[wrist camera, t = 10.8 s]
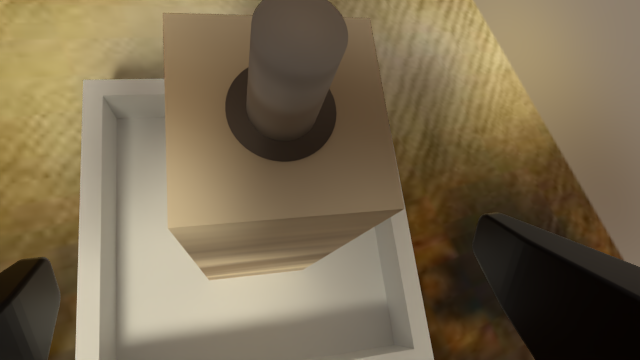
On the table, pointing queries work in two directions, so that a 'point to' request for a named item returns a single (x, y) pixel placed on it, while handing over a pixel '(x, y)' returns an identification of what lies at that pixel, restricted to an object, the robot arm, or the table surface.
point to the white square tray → (222, 294)
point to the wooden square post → (274, 136)
